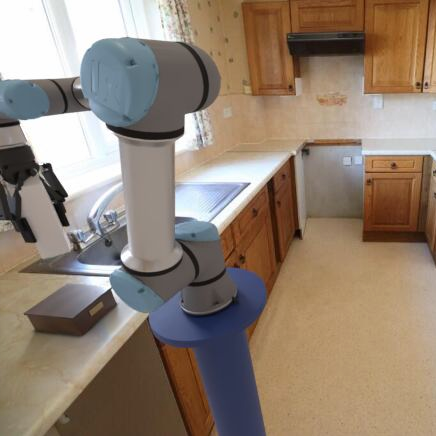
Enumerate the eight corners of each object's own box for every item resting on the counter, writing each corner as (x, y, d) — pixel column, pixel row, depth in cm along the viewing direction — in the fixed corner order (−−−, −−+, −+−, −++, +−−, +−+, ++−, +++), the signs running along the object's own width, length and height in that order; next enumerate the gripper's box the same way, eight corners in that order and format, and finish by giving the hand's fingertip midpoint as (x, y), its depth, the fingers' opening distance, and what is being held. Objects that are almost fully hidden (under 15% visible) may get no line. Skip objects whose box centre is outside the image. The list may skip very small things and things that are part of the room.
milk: (71, 251, 85) (35, 170, 76) (41, 260, 82) (0, 176, 72) (70, 243, 89) (36, 166, 80) (42, 250, 86) (4, 171, 77)
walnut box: (118, 303, 92) (111, 286, 90) (81, 336, 81) (72, 318, 78) (75, 299, 95) (67, 283, 92) (33, 331, 83) (23, 313, 81)
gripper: (39, 137, 84) (72, 216, 93) (-63, 157, 65) (-8, 254, 74) (63, 136, 82) (94, 217, 92) (-34, 157, 64) (18, 255, 73)
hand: (48, 233), depth 83 cm, fingers closed on milk, 8 cm apart
